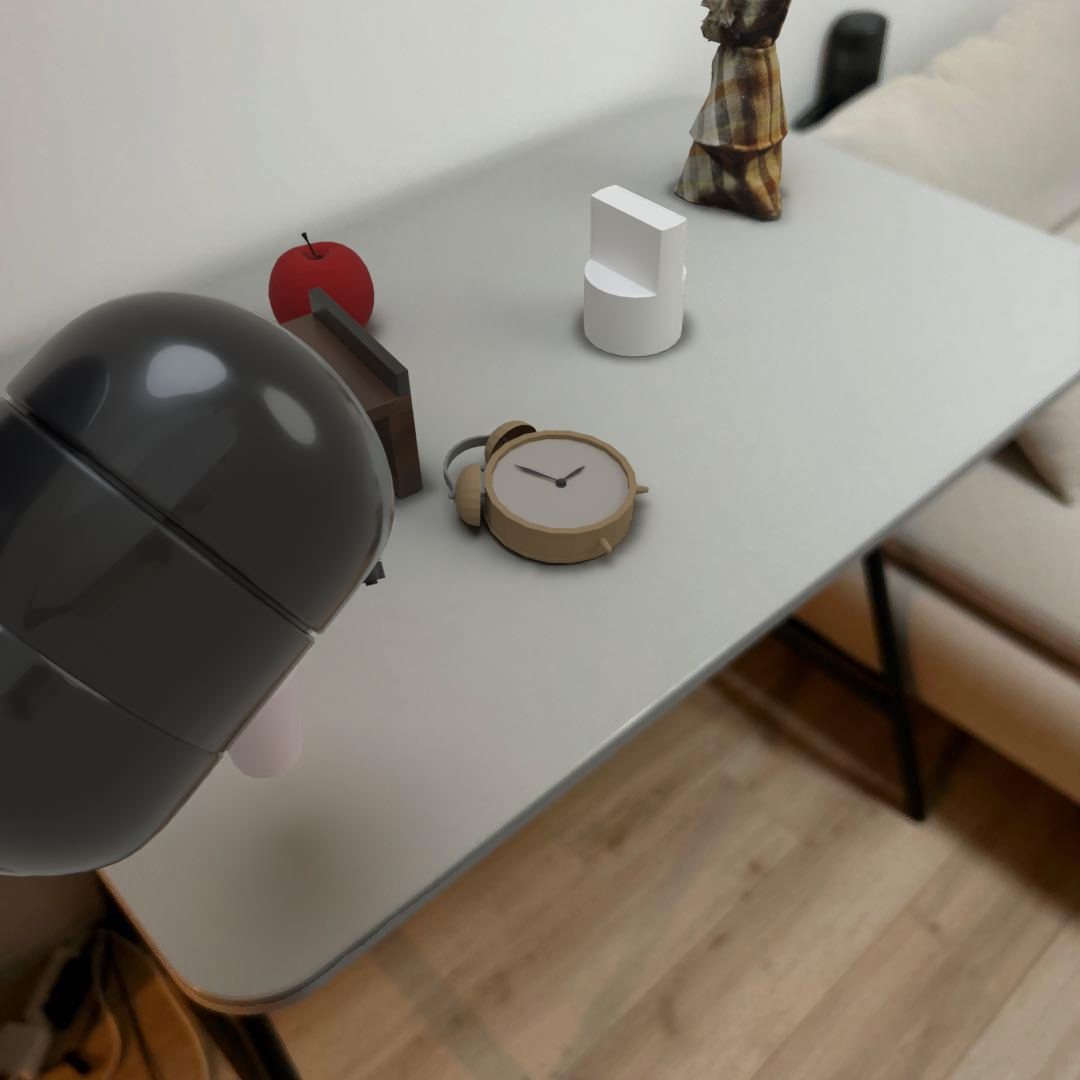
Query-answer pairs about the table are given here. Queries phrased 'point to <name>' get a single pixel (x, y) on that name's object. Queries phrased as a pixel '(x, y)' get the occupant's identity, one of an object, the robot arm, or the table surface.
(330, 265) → the apple
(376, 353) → the shelf
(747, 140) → the plaid figurine
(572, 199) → the table surface
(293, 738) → the smoothie
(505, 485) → the alarm clock
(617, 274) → the cylinder with rectangular tab
